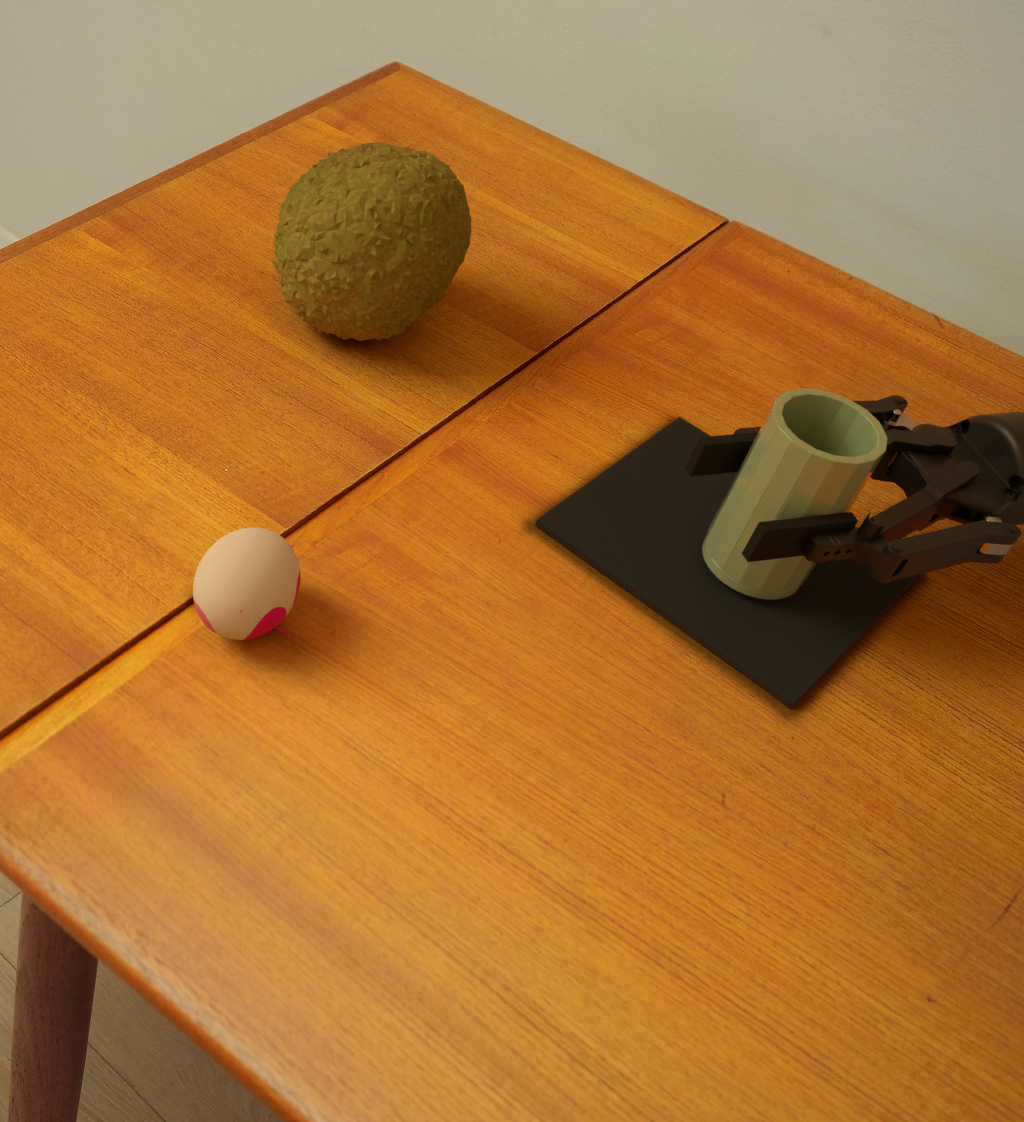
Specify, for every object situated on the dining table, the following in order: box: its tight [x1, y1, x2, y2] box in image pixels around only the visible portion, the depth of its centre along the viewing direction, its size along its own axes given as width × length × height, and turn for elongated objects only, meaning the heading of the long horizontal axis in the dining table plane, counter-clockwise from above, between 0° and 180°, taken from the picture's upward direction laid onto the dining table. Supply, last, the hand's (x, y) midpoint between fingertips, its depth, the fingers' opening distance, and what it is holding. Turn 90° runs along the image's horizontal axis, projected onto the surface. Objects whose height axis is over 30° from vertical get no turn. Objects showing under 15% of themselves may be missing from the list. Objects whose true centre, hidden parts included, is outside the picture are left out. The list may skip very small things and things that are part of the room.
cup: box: [702, 387, 887, 600], centre depth 80 cm, size 7×7×12 cm
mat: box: [534, 416, 921, 709], centre depth 87 cm, size 20×18×1 cm
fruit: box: [271, 142, 472, 342], centre depth 96 cm, size 16×14×15 cm
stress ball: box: [192, 526, 302, 642], centre depth 76 cm, size 8×8×7 cm
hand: (723, 498), depth 79 cm, fingers closed on cup, 7 cm apart
